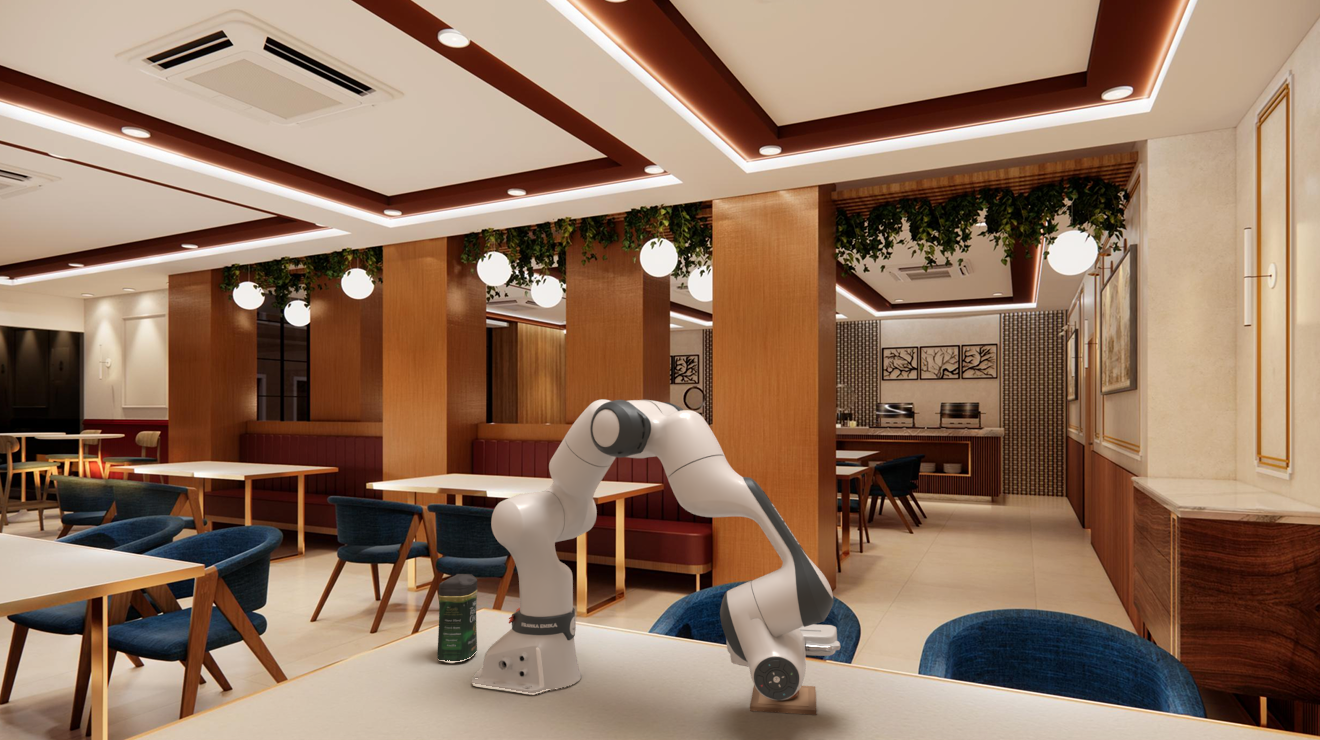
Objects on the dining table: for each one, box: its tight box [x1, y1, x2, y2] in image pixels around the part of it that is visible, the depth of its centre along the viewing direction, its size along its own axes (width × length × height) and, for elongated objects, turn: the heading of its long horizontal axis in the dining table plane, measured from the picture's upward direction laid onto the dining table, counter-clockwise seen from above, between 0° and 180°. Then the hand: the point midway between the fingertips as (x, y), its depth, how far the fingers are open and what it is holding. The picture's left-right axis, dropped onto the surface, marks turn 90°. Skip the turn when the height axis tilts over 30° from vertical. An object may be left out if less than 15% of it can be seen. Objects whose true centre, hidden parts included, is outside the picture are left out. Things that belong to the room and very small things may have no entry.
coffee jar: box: [436, 573, 478, 661], centre depth 168 cm, size 10×8×19 cm
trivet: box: [749, 685, 818, 716], centre depth 139 cm, size 12×12×1 cm
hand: (781, 625), depth 141 cm, fingers open, 8 cm apart
